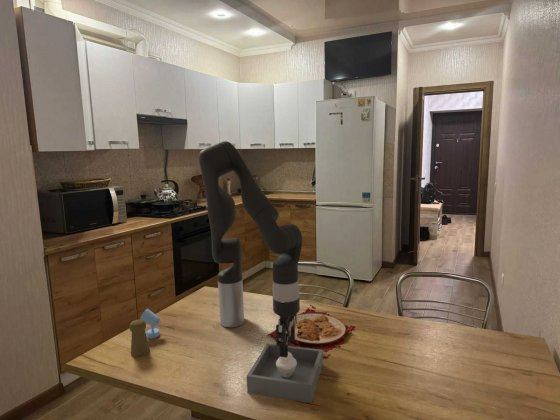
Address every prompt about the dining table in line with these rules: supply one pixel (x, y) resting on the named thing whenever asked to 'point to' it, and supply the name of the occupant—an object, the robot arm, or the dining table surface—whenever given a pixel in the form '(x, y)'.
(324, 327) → the plate with food
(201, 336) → the dining table surface
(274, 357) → the serving bin
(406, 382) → the dining table surface
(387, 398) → the dining table surface
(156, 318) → the spotlight
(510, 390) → the dining table surface
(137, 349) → the olive pepper mill
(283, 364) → the white ribbed rounded piece
